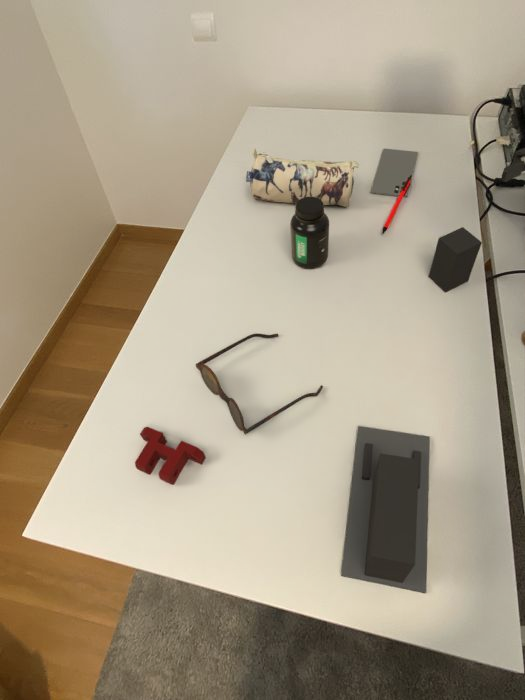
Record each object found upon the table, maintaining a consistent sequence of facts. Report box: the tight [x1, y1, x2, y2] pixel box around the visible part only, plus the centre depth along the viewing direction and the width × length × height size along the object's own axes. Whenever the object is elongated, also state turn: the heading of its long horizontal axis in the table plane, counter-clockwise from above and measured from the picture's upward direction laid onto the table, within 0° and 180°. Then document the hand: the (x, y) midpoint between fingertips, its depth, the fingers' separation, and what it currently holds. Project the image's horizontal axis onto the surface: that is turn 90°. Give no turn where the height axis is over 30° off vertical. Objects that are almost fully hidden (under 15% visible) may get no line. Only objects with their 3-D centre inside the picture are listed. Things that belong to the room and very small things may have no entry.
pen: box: [381, 175, 413, 235], centre depth 100 cm, size 1×19×1 cm, turn 154°
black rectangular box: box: [428, 226, 483, 293], centre depth 85 cm, size 4×5×9 cm
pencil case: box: [245, 148, 359, 208], centre depth 101 cm, size 22×8×10 cm, turn 77°
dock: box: [340, 425, 431, 594], centre depth 62 cm, size 10×20×10 cm, turn 168°
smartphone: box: [370, 148, 419, 198], centre depth 107 cm, size 8×1×16 cm
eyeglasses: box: [195, 333, 324, 436], centre depth 76 cm, size 15×15×5 cm
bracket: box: [134, 426, 207, 486], centre depth 71 cm, size 3×6×10 cm
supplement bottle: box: [289, 196, 330, 270], centre depth 89 cm, size 7×7×12 cm
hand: (523, 189), depth 79 cm, fingers open, 8 cm apart
